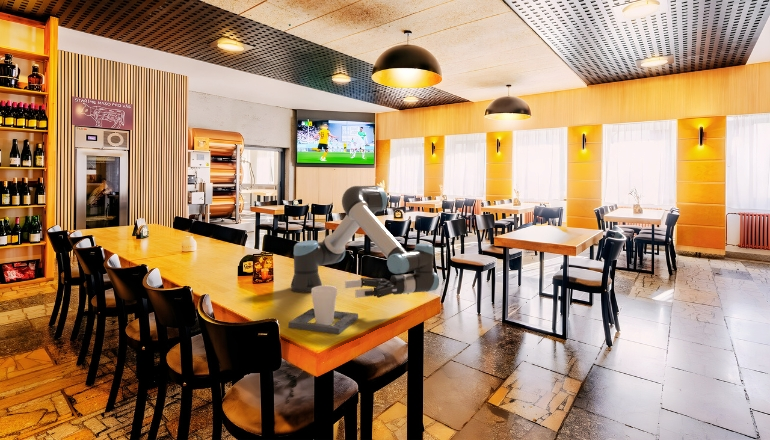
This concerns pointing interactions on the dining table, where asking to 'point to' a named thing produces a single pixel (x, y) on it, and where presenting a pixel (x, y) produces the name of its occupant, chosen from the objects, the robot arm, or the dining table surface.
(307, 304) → the dining table surface
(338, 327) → the square frame
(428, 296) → the dining table surface
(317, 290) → the foam cup
